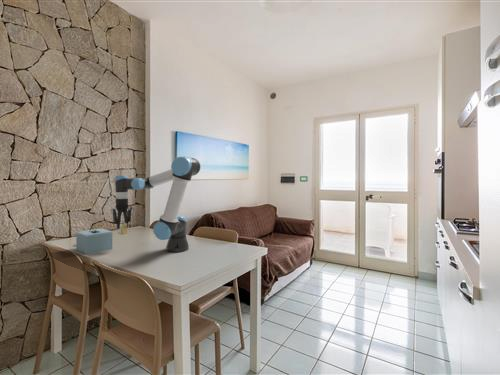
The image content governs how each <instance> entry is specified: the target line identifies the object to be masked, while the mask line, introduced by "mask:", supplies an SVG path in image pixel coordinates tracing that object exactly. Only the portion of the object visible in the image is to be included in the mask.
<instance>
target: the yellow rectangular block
mask: <svg viewBox="0 0 500 375" xmlns="http://www.w3.org/2000/svg"><path fill="white" fill-rule="evenodd" d="M120 224H121V234H119V233H118V232H117V234H119V235H122V236H123V235H127V234H128V227H127V225H124V223H120Z"/></svg>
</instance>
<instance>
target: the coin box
mask: <svg viewBox="0 0 500 375" xmlns="http://www.w3.org/2000/svg"><path fill="white" fill-rule="evenodd" d="M105 229H106V228H95V229H88V230H81V231H76V234H75V235H76V237H75V238H76V244H75V245H76V248H75V249H76V251H79V252H81V253H83V254H85V255H89V254H90V255H91V254H94V253H99V252H103V251H104V252H105V251H109V250H113V231H111V230H108V229H106V230H105Z"/></svg>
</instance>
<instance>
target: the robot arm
mask: <svg viewBox="0 0 500 375" xmlns="http://www.w3.org/2000/svg"><path fill="white" fill-rule="evenodd" d="M170 167H171V169H167V170H165V171H163V172H160V173H156V174H154V175H151V176H147V177H143V178H142V177H141V178H140V177H135V178H134V177H133V178H132V177H131V178H129V177H128V175H125V174H124V175H123V174H122V175H120V174H119V175H115V177H114V179H115V180H114V183H115V184H114V185H115V206H114V208H111V212H112V218H113V220H112V221H113V223H114V224H116V229H117V234H118V233H119V235H122V234H121V224H122V223H121V221H122V220H121V219H122V215H123V219H124V222H123V224H124V225H127V228H128V227H129V223H130V222H131V221H132V211H133V206H129V199H128V198H129V190H134V191H135V190H136V191H139V190H145V189H146V190H150V189H154V187H157V186H160V185H163V184H166V183H169V182H172V183H171V188H170V190H169V194H168V197H167V201H166V205H165V208H164V211H163V214H162V215H160V217H159V220H158V222H156V223H155V224H154V226H153V229H152V230H153V234H154V236H155V237H156V238H157V239H159V240H162V241H165V240H168V241H167V242H166V243H167V244H166V245H165V251H166V250H167V251H166V252H169V251H171V252H170V253H181V252H180V251H182V252H186V251H188V250H189V249H190V248H189V246H190V245H189V242H188V239H187V218H186V216H179V211H180V209H181V205H182V202H183V198H184V196H185V193H186V192H185V191H186V188H187V185H188V183H189V182H191V180H192V177H193V176H196V175H197V174H199V172H201V171H200V170H201V163H200V161H199V160H198V159H197V158H194V157H189V156H177V157H176V158H174V160H173V161H172V162H171V166H170ZM185 250H186V251H185Z"/></svg>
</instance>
